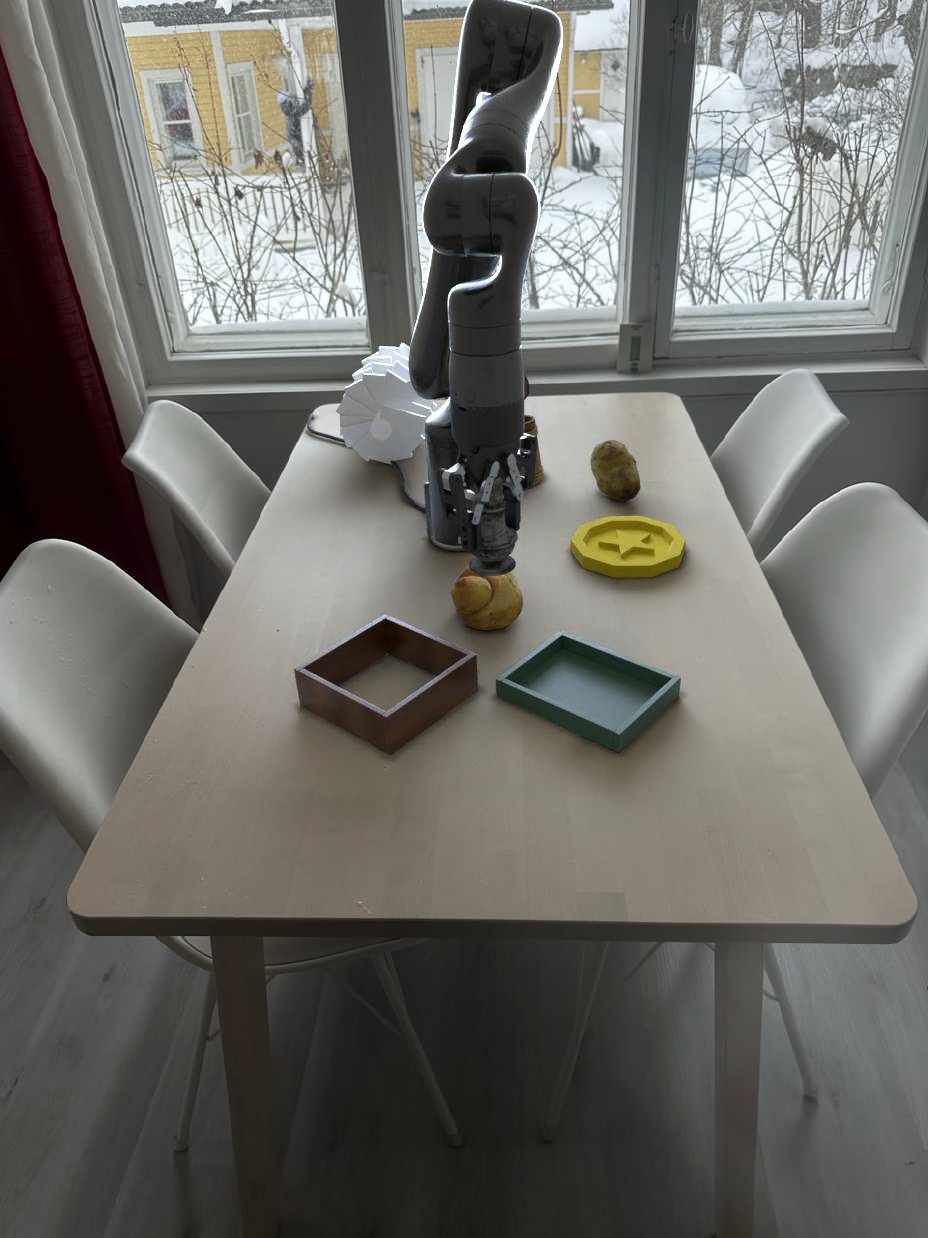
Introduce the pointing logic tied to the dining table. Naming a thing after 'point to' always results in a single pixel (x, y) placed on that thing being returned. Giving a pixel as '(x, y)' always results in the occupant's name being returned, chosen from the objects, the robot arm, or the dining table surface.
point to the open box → (409, 715)
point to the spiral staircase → (384, 408)
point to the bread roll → (486, 600)
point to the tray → (589, 689)
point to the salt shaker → (495, 537)
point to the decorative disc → (628, 546)
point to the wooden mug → (532, 430)
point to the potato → (615, 470)
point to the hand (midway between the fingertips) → (491, 540)
